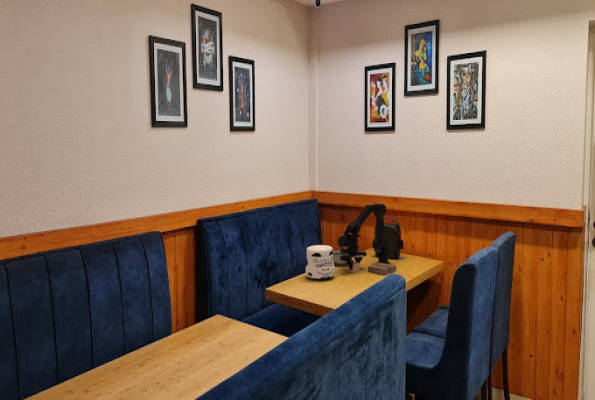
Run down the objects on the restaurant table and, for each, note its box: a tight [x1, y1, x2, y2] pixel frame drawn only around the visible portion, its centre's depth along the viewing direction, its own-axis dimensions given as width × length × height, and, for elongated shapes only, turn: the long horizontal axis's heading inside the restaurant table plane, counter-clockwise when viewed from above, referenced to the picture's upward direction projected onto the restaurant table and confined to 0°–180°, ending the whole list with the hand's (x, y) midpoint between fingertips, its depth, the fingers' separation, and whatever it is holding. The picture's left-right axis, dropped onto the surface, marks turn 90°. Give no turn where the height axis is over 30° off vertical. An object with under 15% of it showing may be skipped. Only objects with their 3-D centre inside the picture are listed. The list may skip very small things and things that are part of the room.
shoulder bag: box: [370, 216, 407, 262], centre depth 317 cm, size 23×9×28 cm, turn 52°
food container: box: [333, 249, 348, 268], centre depth 301 cm, size 12×6×10 cm, turn 84°
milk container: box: [305, 244, 336, 281], centre depth 276 cm, size 17×17×18 cm
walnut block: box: [367, 262, 397, 276], centre depth 285 cm, size 12×12×4 cm
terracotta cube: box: [347, 261, 360, 274], centre depth 288 cm, size 5×5×5 cm
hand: (353, 269), depth 288 cm, fingers closed on terracotta cube, 5 cm apart
